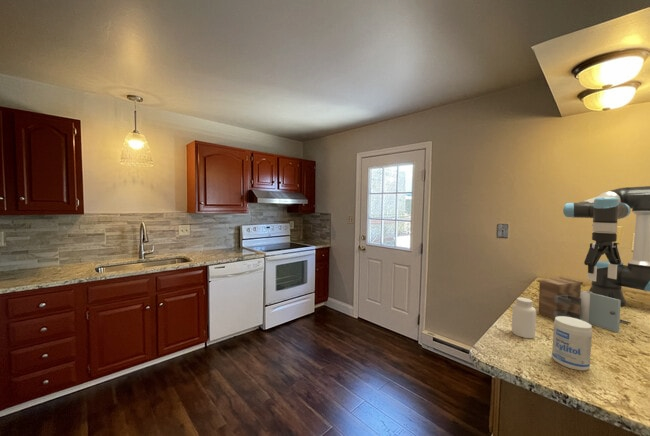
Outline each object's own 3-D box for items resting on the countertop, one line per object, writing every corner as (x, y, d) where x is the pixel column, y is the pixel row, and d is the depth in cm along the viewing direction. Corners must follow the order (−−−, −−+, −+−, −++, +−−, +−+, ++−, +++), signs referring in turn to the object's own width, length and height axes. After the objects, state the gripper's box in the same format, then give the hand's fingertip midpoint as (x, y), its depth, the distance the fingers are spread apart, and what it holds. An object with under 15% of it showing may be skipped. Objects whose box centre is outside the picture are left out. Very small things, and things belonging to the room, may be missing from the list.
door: (582, 318, 126) (584, 290, 126) (621, 331, 113) (622, 299, 113) (577, 319, 125) (578, 290, 125) (615, 332, 112) (616, 300, 112)
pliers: (576, 306, 142) (633, 319, 125) (576, 307, 142) (633, 320, 125) (571, 310, 136) (629, 324, 120) (571, 311, 136) (629, 326, 120)
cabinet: (560, 309, 138) (561, 277, 137) (595, 321, 124) (597, 285, 123) (534, 313, 133) (535, 279, 132) (568, 326, 119) (569, 288, 118)
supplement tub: (552, 364, 90) (553, 321, 89) (551, 352, 97) (553, 313, 97) (592, 375, 84) (594, 330, 83) (588, 362, 91) (590, 320, 90)
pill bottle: (529, 340, 106) (530, 304, 105) (507, 332, 113) (508, 297, 112) (539, 336, 109) (540, 300, 109) (517, 328, 116) (518, 295, 116)
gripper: (611, 231, 124) (609, 275, 125) (574, 232, 117) (572, 279, 118) (633, 232, 117) (631, 279, 118) (596, 233, 110) (593, 283, 111)
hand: (602, 279), depth 118 cm, fingers open, 13 cm apart
